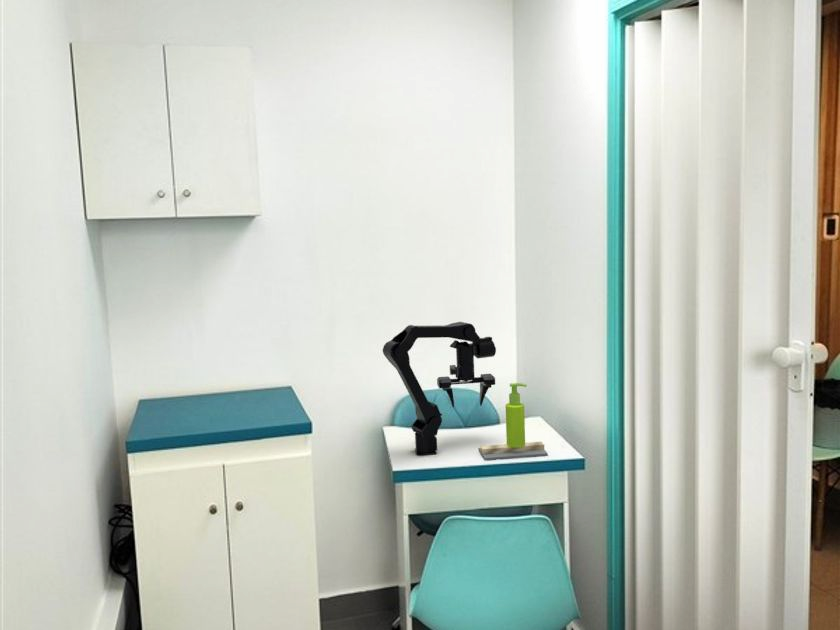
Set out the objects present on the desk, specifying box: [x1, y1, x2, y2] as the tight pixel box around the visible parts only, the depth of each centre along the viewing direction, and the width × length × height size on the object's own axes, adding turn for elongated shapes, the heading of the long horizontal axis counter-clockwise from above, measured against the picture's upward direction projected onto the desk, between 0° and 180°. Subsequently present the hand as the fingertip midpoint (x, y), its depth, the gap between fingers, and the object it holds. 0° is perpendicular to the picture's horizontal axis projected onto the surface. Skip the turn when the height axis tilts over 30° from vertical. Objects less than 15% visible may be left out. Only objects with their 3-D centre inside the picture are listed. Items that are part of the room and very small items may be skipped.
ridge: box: [479, 441, 545, 455], centre depth 241 cm, size 20×4×2 cm, turn 96°
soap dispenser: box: [505, 382, 528, 448], centre depth 240 cm, size 6×7×20 cm
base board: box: [477, 447, 549, 461], centre depth 241 cm, size 20×11×1 cm, turn 96°
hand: (466, 406), depth 251 cm, fingers open, 9 cm apart
